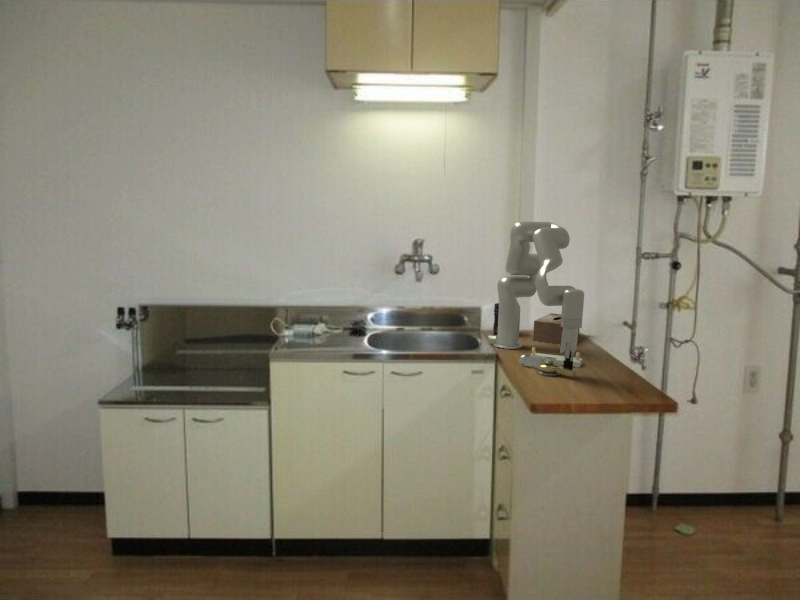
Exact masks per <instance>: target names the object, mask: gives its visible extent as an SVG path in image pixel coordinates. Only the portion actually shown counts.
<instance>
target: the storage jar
mask: <svg viewBox="0 0 800 600" xmlns="http://www.w3.org/2000/svg"><path fill="white" fill-rule="evenodd" d="M493 308H494V309H493V315H494V316H493V319H494V321H493V326H492V328H493V329H492V331H493V333H492V334H493V335H492V336H495V335H498V314H499V302H497V303H494V307H493Z"/></svg>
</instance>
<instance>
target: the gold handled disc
mask: <svg viewBox="0 0 800 600" xmlns="http://www.w3.org/2000/svg"><path fill="white" fill-rule="evenodd" d="M537 369H538V370H539V371H541V372H545V373H559V374H561V375H565V376H568V377H576V376H577V370H576V369H573V370H572V369H568V368H564V367H563V366H561V365H558V364H555V363H553V361H548V360H547V361H545V362H543V363H539V364H538V368H537Z"/></svg>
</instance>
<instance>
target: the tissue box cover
mask: <svg viewBox="0 0 800 600" xmlns="http://www.w3.org/2000/svg"><path fill="white" fill-rule="evenodd" d="M561 314H562V313H552V312H550V313H549V314H546V315H544V316H541V317H539V318H537V319H535V320H534V321H533V337H532V342H534V341H538V342H537V343H542V342H544V343H543V344H549V343H552V344H551V345H557V344H560V345H559V346H561V339H562V331H563V327H561ZM578 335H579V336H580V328H579V329H578Z"/></svg>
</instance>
